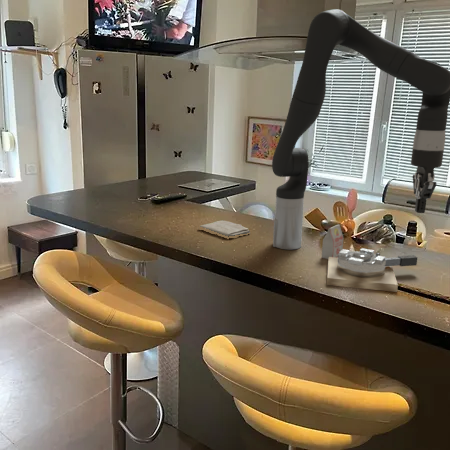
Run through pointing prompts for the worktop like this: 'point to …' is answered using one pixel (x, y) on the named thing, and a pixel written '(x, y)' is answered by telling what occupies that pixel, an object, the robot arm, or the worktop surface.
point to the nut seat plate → (361, 278)
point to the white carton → (332, 242)
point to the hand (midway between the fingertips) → (419, 212)
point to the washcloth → (226, 228)
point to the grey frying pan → (369, 262)
